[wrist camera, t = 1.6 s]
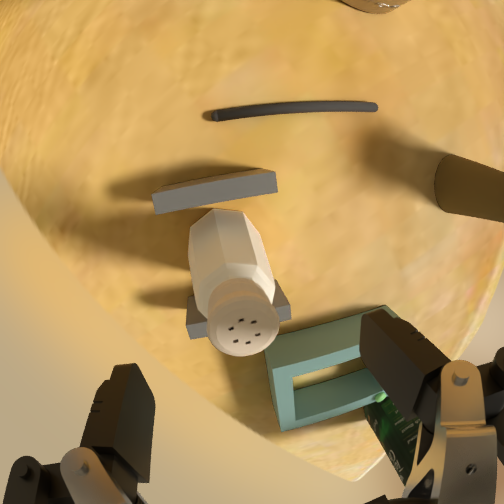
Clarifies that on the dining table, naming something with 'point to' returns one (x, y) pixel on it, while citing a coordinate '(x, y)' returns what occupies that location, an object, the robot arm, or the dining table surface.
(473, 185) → the pepper shaker
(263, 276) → the pepper shaker
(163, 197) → the pair of grey blocks
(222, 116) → the thin black rod
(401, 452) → the coffee jar
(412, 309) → the dining table surface
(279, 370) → the frame
